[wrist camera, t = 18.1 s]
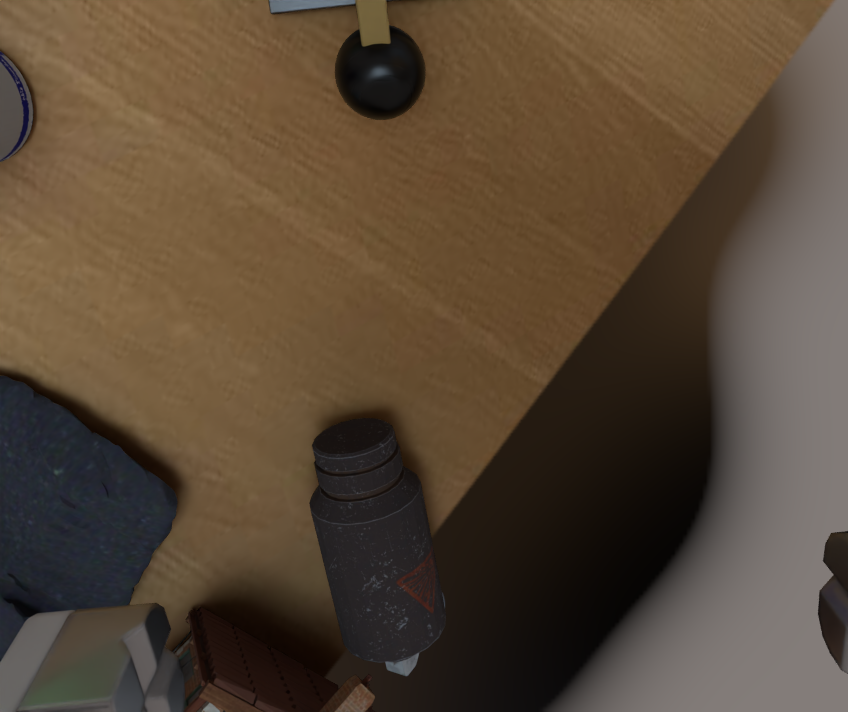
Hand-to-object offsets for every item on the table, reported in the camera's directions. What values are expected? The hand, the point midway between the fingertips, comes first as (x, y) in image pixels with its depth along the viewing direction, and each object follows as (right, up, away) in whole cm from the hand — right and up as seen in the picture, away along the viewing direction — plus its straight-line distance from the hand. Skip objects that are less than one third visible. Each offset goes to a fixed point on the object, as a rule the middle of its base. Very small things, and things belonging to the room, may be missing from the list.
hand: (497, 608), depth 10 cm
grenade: (-4, 0, +31) cm, 32 cm away
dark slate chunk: (-24, -8, +36) cm, 44 cm away
